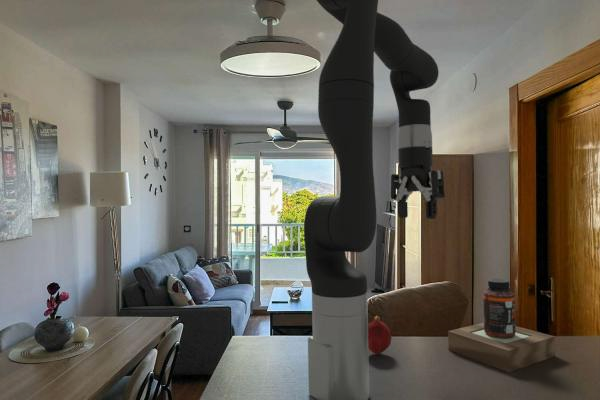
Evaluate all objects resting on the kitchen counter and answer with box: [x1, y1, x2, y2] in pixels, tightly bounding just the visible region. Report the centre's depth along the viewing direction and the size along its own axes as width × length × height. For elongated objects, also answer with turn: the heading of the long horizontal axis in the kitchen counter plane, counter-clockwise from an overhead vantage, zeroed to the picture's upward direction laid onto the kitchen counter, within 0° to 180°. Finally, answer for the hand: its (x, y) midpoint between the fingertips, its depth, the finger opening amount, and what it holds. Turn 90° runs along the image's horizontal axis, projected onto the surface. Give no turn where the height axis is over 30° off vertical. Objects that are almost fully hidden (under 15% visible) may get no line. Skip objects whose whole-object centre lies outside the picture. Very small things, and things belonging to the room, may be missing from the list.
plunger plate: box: [473, 330, 529, 343], centre depth 88 cm, size 8×8×1 cm
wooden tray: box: [447, 322, 556, 373], centre depth 88 cm, size 15×14×4 cm
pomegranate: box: [368, 315, 392, 356], centre depth 88 cm, size 6×6×8 cm
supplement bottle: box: [482, 278, 517, 338], centre depth 88 cm, size 6×6×11 cm
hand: (416, 218), depth 95 cm, fingers open, 8 cm apart
